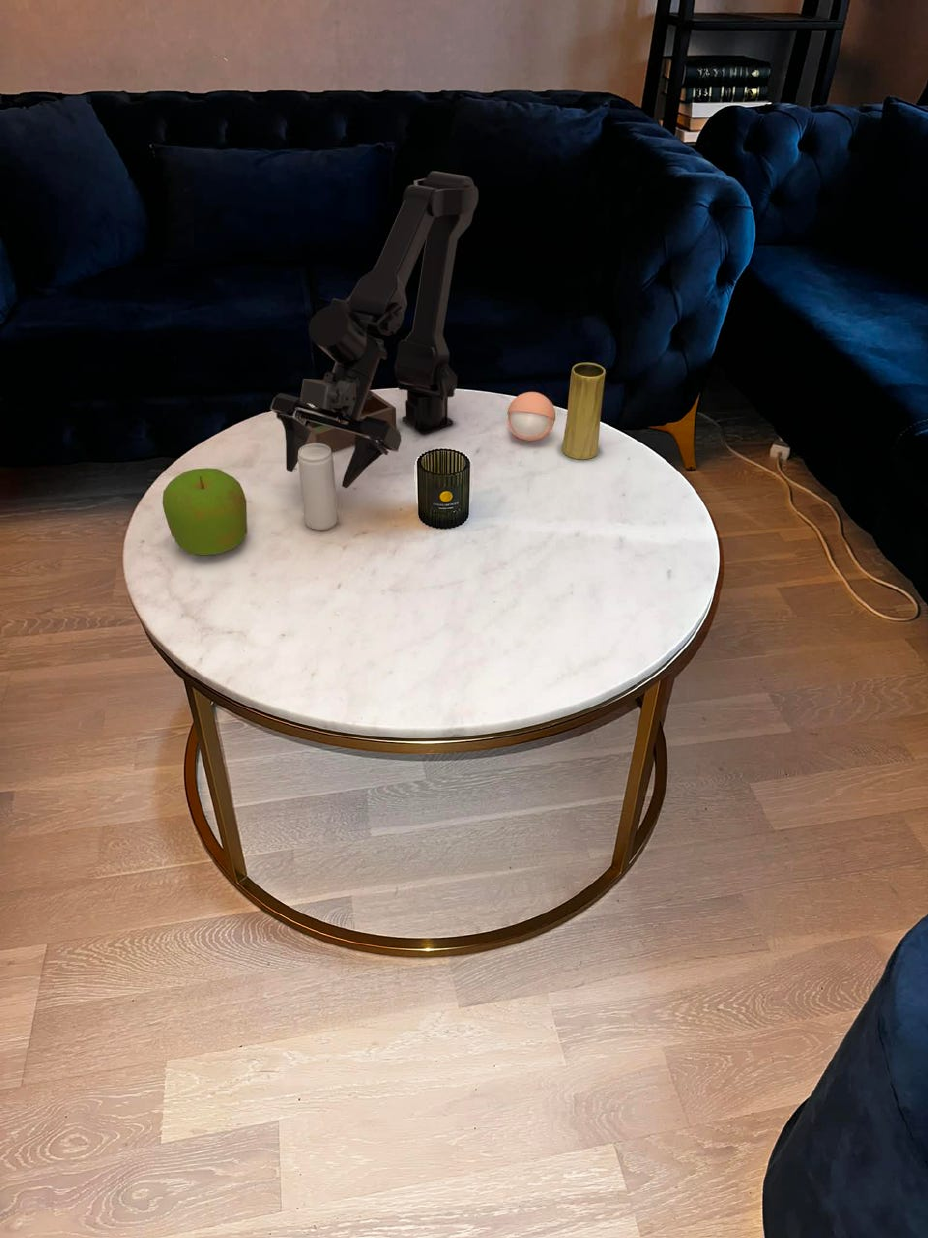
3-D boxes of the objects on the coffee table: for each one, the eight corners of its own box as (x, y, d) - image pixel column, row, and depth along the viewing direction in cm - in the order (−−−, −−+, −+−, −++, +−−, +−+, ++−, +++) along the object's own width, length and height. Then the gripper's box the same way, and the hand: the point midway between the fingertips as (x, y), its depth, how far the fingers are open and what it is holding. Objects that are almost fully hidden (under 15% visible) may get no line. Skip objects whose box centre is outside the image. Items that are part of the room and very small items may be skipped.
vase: (556, 455, 154) (564, 374, 144) (567, 437, 158) (575, 358, 149) (592, 463, 152) (602, 381, 143) (602, 445, 156) (613, 365, 147)
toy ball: (501, 444, 156) (503, 401, 151) (511, 422, 161) (514, 380, 156) (548, 452, 154) (552, 408, 149) (557, 430, 160) (561, 387, 155)
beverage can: (305, 513, 139) (297, 442, 132) (338, 512, 140) (332, 441, 132) (304, 532, 136) (296, 460, 128) (337, 531, 136) (331, 459, 128)
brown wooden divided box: (370, 410, 164) (369, 389, 161) (396, 429, 159) (395, 407, 156) (292, 436, 156) (290, 414, 154) (317, 457, 152) (315, 434, 149)
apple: (156, 548, 132) (140, 482, 125) (209, 511, 139) (196, 447, 132) (216, 574, 128) (203, 507, 121) (267, 535, 135) (258, 470, 128)
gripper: (269, 338, 128) (232, 445, 128) (389, 367, 122) (349, 480, 122) (306, 369, 139) (271, 468, 139) (418, 397, 133) (382, 501, 133)
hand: (316, 479), depth 133 cm, fingers open, 9 cm apart
